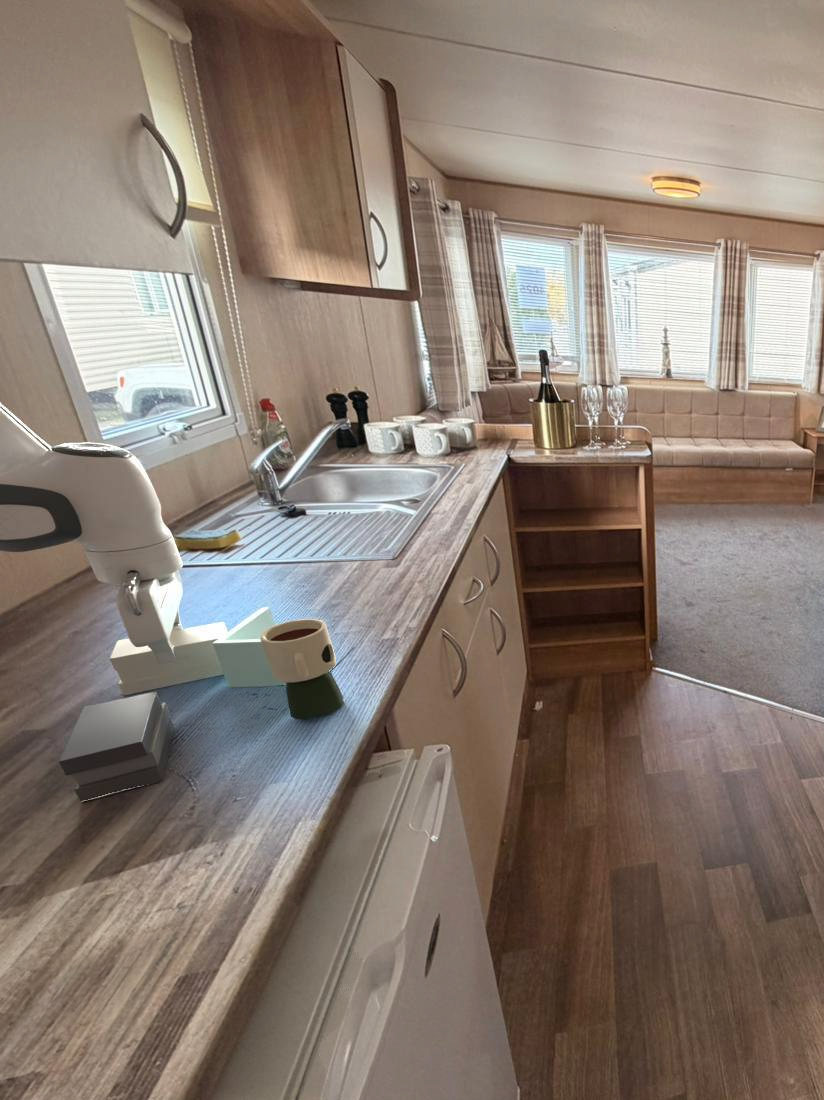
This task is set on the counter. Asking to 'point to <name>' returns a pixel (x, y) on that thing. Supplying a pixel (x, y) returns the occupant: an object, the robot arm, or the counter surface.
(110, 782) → the grey book pile
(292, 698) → the character mug
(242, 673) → the l-shaped corner panel
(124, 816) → the counter surface
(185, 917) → the counter surface
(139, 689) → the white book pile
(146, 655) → the cream flat block
